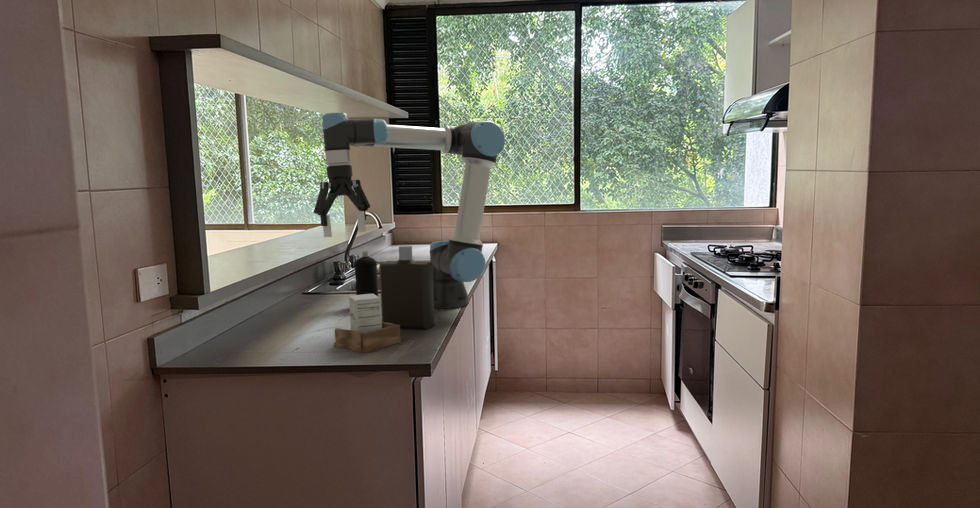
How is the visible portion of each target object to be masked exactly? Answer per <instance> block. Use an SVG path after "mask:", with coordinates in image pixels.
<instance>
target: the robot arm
mask: <svg viewBox="0 0 980 508" xmlns="http://www.w3.org/2000/svg"><path fill="white" fill-rule="evenodd" d="M321 121H322V136H323V143H324V145H323V146H324V156H325V163H326V165H327V166H326V175H327V179H328V181H321V182H320V183H319V186H320V187H319V193H318V195H317V199H316V203H315V207H314V210H313V212H314V214H315V215H317V216H320V218H319V219H320V225H321V227H322V228H323V237H324V238H332V237H333V235H332V225H331V224H332V223H331V215H329V212H330V210H331V208H332V207H333V205H334V202H335V200H336V198H338V197H339V196H340V197H341V196H346V197H348V199H349V200H350V201H351V202H352V204H353V205H354V206H355V208H356V209H358V210H357V211H356V219H357V230H358V233H365V232H367V231H366V230H367V228H366V221H367V215H366V214H367V213H366V212H367V211H368V210H369V209H371V204H370V203H369V200H368V198H367V196H366V194H365V192H364V190H363V188H362V185H361V180H360V179H352V177H353V166H352V165H351V163H352V155H351V147H378V148H381V147H382V148H393V149H394V148H397V149H414V150H416V149H417V150H431V151H433V150H434V151H441V152H442V153H443V154H448V155H449V154H451V155H458V156H461V159H462V161H463V163H464V172H463V178H462V185H461V190H460V196H459V203H458V210H457V215H456V222H455V229H454V234H453V235H452V236H451V237H449V239H448V240H441V241H433V242H431V243H430V246H429V257H430V258H429V261H430V262H432V264H433V287H434V307H435V308H434V309H455V308H461V307H466V306H468V305H470V298H469V293H468V291H467V289H466V286H465V283H471V282H474V281H475V280H478V279H479V278H480V277H481V276H482V274H483V273H484V271H485V269H486V259H485V256H484V253H483V246H484V244H483V242H482V241H481V239H480V237H481V229H482V223H483V217H484V212H485V206H486V198H487V195H488V194H487V193H488V186H489V179H490V176H491V175H490V174H491V169H492V168H493V167H494V166H495V165H497V159H498V155H499V154H500V153H501V152H502V151H503V149H504V147H505V144H506V137H505V133H504V131H503V129H502V128H501V127H500V125H499V124H497V123H496V122H494V121H492V120H479V121H475V122H469V123H464V124H459V125H444V126H443V127H429V126H416V125H415V126H413V125H399V124H388V123H387V122H386V121H385V120H384V119H383V118H371V119H370V118H368V119H367V118H365V119H349V118H348V115H347V113H345V112H328V113H325V114H323V115H322V117H321ZM329 189H330V190H329Z"/></svg>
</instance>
